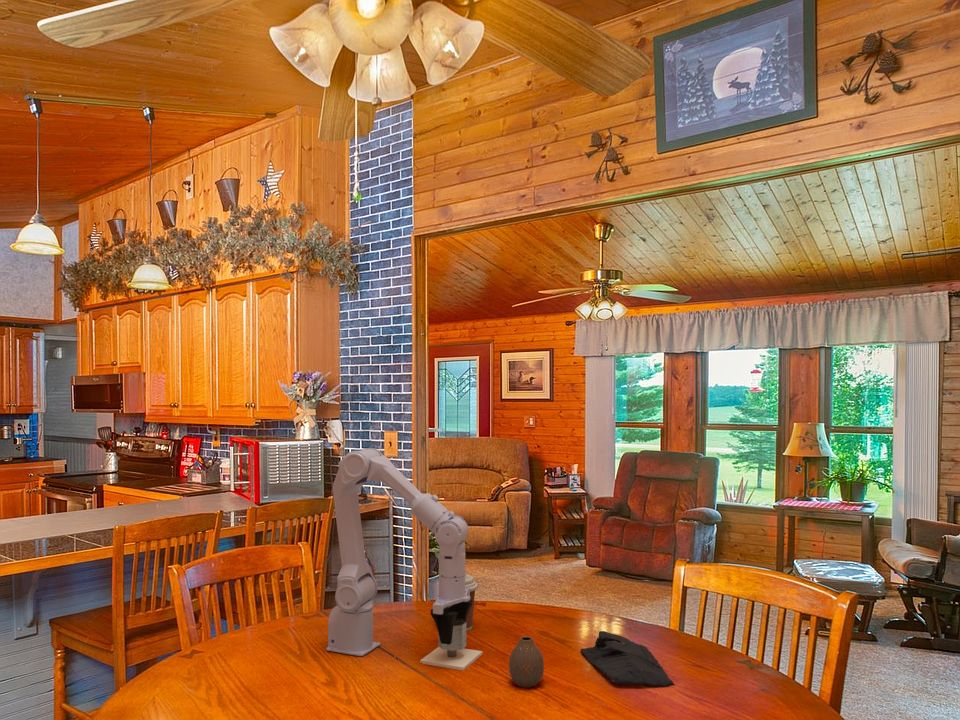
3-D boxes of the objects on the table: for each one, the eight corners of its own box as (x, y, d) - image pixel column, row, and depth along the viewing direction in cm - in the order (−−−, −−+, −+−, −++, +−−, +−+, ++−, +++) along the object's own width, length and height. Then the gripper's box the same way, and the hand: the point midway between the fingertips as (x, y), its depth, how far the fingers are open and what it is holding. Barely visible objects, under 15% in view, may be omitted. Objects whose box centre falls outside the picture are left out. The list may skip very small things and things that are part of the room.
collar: (435, 648, 155) (435, 624, 155) (446, 640, 160) (446, 616, 160) (458, 651, 153) (458, 627, 153) (469, 643, 158) (469, 620, 158)
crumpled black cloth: (602, 692, 140) (601, 667, 140) (577, 651, 162) (577, 629, 162) (679, 690, 141) (679, 665, 142) (645, 649, 163) (645, 627, 163)
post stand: (420, 663, 154) (420, 636, 154) (441, 647, 163) (441, 622, 163) (463, 670, 150) (463, 642, 150) (482, 654, 159) (482, 628, 159)
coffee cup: (439, 622, 180) (439, 573, 181) (475, 620, 181) (475, 572, 182) (441, 634, 171) (441, 582, 172) (479, 633, 172) (479, 581, 173)
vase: (520, 693, 139) (520, 646, 139) (502, 680, 145) (502, 635, 145) (551, 686, 142) (550, 640, 142) (532, 674, 148) (532, 630, 148)
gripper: (454, 585, 149) (454, 652, 148) (482, 568, 162) (482, 630, 161) (423, 581, 151) (423, 647, 151) (453, 565, 165) (453, 626, 164)
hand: (452, 638), depth 156 cm, fingers closed on collar, 5 cm apart
